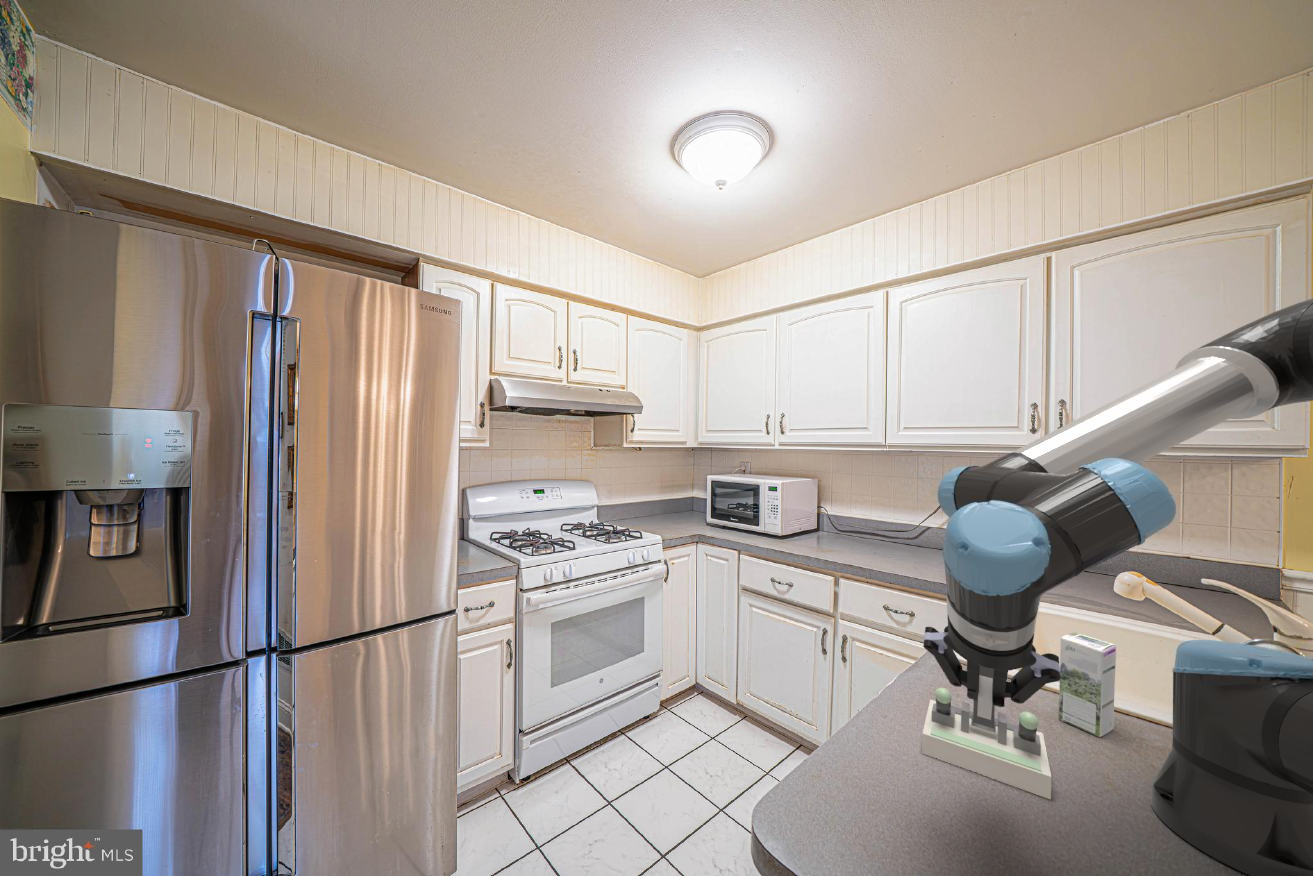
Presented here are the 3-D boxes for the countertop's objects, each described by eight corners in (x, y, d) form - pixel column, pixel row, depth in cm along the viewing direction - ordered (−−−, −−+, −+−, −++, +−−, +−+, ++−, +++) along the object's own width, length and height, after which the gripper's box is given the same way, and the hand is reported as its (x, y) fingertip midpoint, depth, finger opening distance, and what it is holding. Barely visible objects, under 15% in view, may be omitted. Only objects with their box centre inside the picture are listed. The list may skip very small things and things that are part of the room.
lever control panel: (1042, 752, 72) (1043, 693, 72) (1050, 799, 62) (1052, 731, 63) (929, 716, 81) (931, 664, 81) (921, 753, 71) (923, 693, 71)
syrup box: (1115, 729, 79) (1117, 643, 79) (1099, 739, 76) (1102, 649, 76) (1072, 712, 84) (1075, 630, 84) (1056, 720, 81) (1059, 636, 81)
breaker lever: (995, 730, 72) (997, 641, 73) (995, 735, 70) (998, 644, 71) (971, 722, 73) (974, 636, 75) (971, 727, 72) (974, 639, 73)
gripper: (914, 635, 51) (925, 718, 65) (1074, 673, 44) (1049, 758, 57) (922, 575, 55) (930, 665, 69) (1068, 601, 48) (1045, 696, 61)
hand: (984, 707), depth 63 cm, fingers closed
